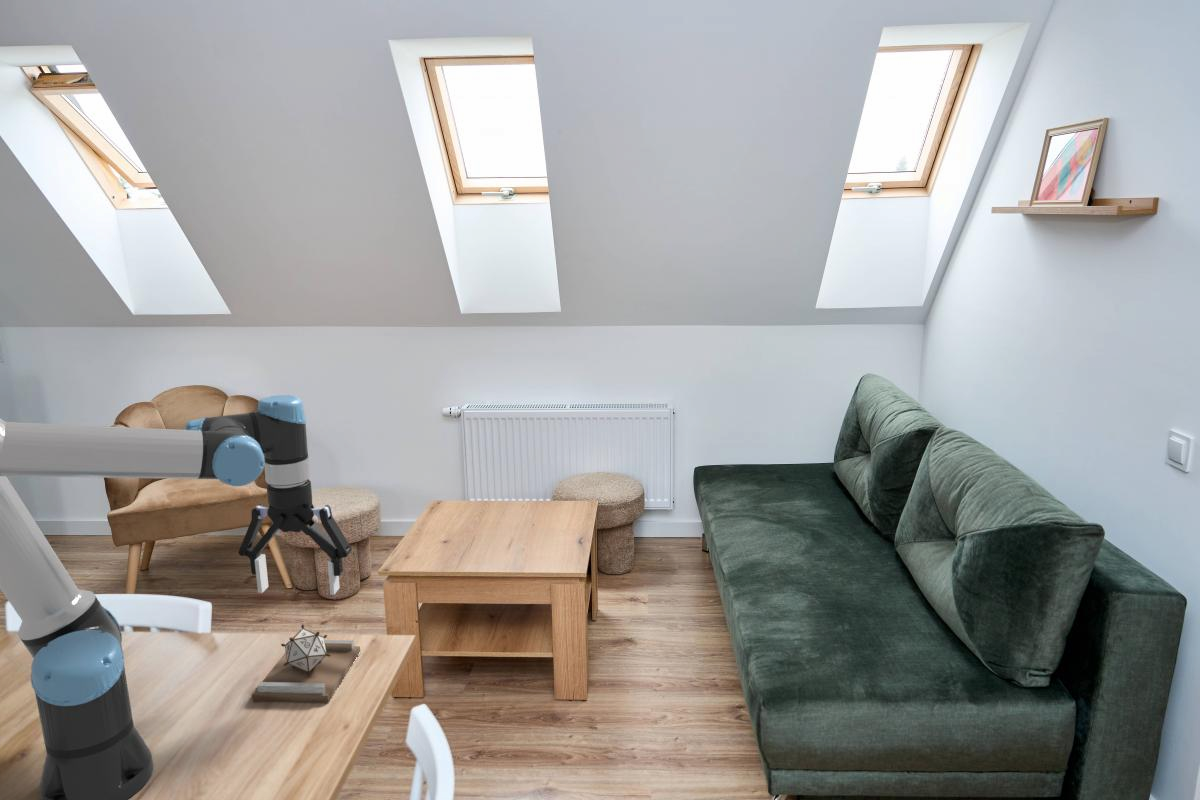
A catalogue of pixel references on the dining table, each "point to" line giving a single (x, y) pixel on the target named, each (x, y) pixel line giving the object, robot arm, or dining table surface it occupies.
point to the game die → (305, 650)
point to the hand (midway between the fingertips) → (299, 590)
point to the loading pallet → (301, 687)
